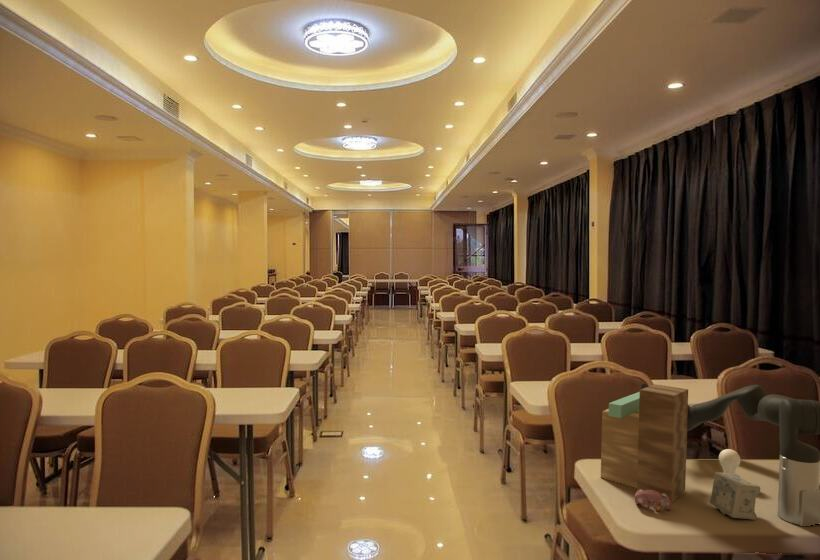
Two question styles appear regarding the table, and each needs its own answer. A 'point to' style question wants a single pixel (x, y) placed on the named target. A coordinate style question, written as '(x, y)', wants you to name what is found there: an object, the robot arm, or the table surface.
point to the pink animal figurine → (652, 499)
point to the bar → (624, 406)
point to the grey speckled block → (734, 496)
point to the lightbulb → (729, 461)
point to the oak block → (620, 448)
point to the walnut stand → (662, 440)
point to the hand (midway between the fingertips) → (655, 387)
